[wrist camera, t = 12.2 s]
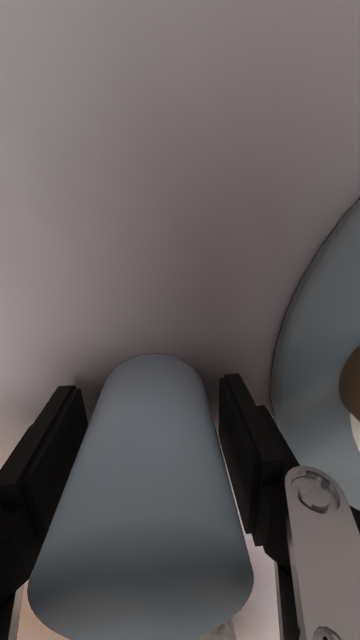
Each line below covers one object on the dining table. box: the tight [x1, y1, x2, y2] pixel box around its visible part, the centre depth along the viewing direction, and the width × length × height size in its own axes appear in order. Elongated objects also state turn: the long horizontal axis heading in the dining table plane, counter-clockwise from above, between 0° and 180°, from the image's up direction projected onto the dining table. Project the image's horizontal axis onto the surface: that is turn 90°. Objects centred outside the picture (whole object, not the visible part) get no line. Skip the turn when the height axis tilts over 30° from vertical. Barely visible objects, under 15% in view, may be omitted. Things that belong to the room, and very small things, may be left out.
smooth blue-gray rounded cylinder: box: [27, 354, 254, 640], centre depth 8 cm, size 4×4×6 cm
